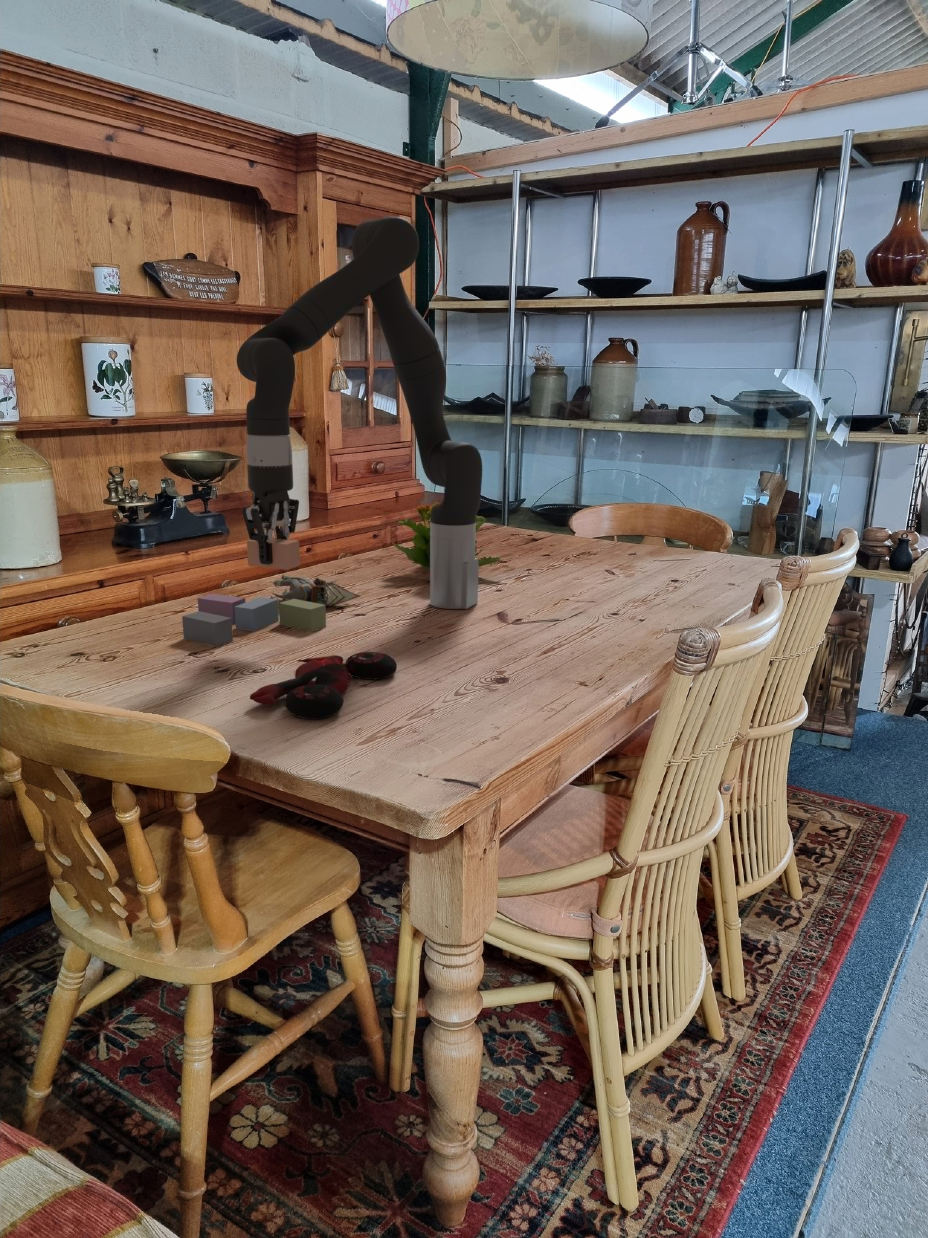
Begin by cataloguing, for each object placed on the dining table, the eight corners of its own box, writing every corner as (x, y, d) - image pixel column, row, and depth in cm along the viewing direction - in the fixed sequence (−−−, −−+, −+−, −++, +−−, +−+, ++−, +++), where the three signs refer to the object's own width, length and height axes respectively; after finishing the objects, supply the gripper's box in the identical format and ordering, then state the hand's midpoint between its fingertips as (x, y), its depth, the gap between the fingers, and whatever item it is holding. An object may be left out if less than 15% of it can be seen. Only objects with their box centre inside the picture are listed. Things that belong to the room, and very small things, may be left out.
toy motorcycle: (402, 679, 141) (317, 652, 146) (406, 650, 139) (320, 623, 144) (323, 741, 119) (225, 706, 123) (326, 707, 117) (227, 673, 122)
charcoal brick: (233, 641, 154) (231, 618, 153) (216, 647, 151) (214, 623, 150) (201, 634, 158) (199, 611, 157) (183, 639, 155) (182, 616, 154)
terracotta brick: (299, 565, 152) (299, 540, 151) (287, 569, 149) (286, 544, 148) (261, 561, 155) (260, 536, 154) (248, 565, 152) (246, 540, 151)
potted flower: (519, 571, 212) (521, 499, 207) (475, 591, 192) (477, 512, 187) (430, 560, 223) (430, 492, 218) (380, 578, 203) (379, 503, 198)
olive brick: (326, 627, 164) (325, 605, 163) (311, 632, 161) (310, 609, 159) (294, 620, 168) (293, 598, 167) (279, 625, 165) (278, 602, 164)
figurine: (299, 567, 190) (372, 573, 186) (299, 594, 191) (371, 601, 187) (256, 581, 171) (336, 589, 167) (256, 611, 172) (335, 620, 168)
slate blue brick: (261, 619, 169) (260, 597, 168) (278, 621, 167) (277, 599, 166) (235, 629, 162) (234, 606, 160) (253, 632, 160) (252, 609, 159)
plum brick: (246, 620, 168) (245, 597, 167) (233, 625, 164) (232, 602, 163) (212, 615, 171) (211, 593, 170) (199, 620, 167) (197, 598, 166)
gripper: (263, 466, 139) (268, 571, 144) (311, 459, 152) (314, 556, 157) (225, 464, 142) (231, 567, 147) (275, 457, 155) (279, 552, 160)
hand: (274, 560), depth 152 cm, fingers closed on terracotta brick, 4 cm apart
